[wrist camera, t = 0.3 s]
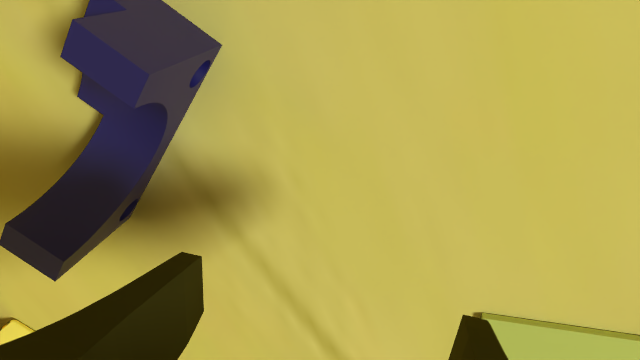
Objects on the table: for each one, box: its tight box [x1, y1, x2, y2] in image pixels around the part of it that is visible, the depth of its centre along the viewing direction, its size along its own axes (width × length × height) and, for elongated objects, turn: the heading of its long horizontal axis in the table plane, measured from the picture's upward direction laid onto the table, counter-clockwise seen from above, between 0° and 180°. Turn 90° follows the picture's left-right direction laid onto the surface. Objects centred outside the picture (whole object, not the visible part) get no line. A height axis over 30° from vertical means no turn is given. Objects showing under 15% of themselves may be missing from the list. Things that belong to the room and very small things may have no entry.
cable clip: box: [0, 0, 222, 281], centre depth 20 cm, size 12×4×6 cm, turn 146°
